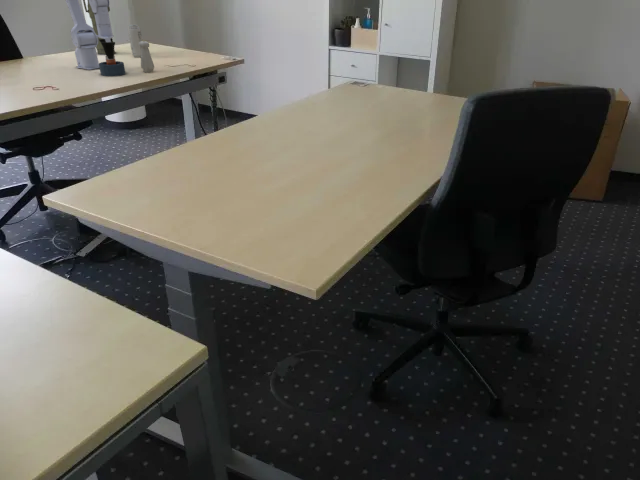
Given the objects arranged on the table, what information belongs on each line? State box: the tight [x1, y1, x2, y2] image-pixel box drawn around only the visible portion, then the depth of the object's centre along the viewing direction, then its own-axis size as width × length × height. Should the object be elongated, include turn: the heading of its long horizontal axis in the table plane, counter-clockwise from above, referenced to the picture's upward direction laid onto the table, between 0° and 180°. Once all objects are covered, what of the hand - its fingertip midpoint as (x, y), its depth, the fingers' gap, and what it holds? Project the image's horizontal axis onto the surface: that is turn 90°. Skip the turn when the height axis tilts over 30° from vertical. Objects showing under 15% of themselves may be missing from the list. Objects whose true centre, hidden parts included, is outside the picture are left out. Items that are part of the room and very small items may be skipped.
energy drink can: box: [127, 24, 143, 58], centre depth 277 cm, size 6×6×15 cm
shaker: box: [104, 55, 117, 65], centre depth 240 cm, size 4×4×7 cm
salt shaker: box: [139, 40, 155, 73], centre depth 246 cm, size 6×6×13 cm
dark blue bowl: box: [99, 60, 126, 77], centre depth 241 cm, size 10×10×5 cm
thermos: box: [82, 0, 116, 56], centre depth 277 cm, size 9×12×35 cm
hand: (110, 57), depth 239 cm, fingers open, 7 cm apart
